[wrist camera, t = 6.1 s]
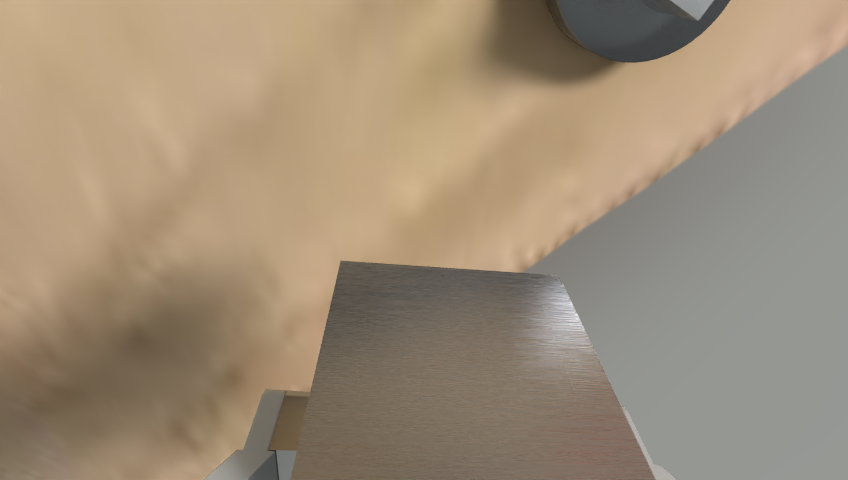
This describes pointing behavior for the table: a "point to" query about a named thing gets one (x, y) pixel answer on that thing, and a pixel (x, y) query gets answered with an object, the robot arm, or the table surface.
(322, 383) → the grey wooden cube
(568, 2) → the ratchet
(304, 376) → the table surface
